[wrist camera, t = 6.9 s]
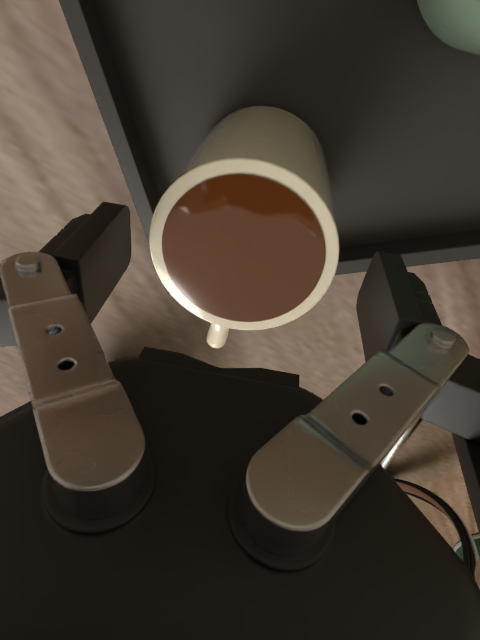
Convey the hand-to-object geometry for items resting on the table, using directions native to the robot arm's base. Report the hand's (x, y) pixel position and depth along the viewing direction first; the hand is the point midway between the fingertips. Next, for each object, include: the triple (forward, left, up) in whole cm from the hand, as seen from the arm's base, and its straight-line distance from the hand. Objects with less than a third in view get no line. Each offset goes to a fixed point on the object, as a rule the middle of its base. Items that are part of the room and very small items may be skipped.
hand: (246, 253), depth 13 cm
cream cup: (+1, -1, -8) cm, 8 cm away
